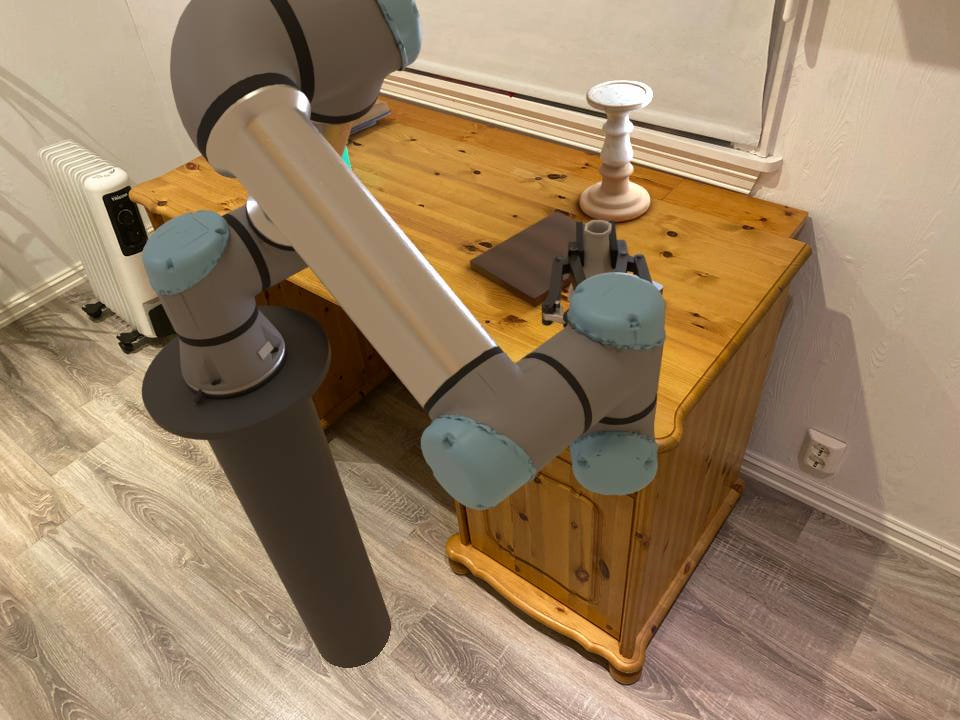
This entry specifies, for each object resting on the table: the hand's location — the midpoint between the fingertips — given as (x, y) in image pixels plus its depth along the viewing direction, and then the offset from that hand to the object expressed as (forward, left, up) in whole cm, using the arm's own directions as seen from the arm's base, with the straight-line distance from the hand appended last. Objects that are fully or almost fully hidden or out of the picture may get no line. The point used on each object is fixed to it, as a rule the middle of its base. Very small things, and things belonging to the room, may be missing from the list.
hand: (595, 230), depth 90 cm
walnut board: (+9, +18, -18) cm, 27 cm away
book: (+11, +89, -18) cm, 92 cm away
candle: (0, +67, -18) cm, 70 cm away
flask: (-4, -4, -6) cm, 8 cm away
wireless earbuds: (+10, -1, -18) cm, 20 cm away
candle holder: (+29, +21, -18) cm, 40 cm away
